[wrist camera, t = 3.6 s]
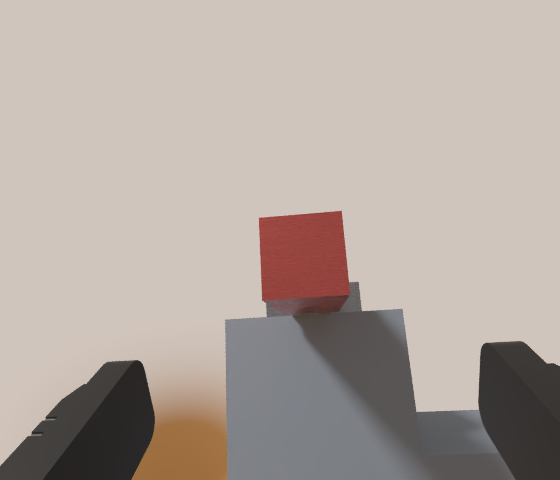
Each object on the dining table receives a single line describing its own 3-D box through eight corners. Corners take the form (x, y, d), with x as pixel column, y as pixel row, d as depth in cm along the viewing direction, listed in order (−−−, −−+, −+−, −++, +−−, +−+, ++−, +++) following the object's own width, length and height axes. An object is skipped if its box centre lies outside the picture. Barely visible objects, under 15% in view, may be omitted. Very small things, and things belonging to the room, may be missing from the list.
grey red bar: (418, 290, 13) (405, 205, 14) (198, 304, 14) (199, 223, 15) (358, 319, 34) (355, 284, 35) (271, 324, 35) (270, 290, 35)
